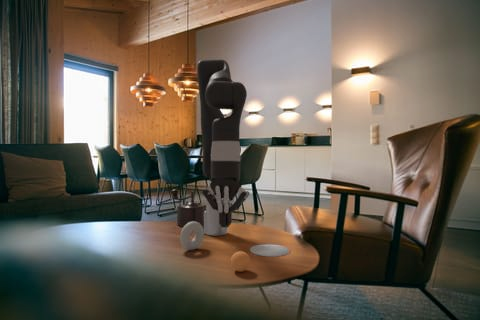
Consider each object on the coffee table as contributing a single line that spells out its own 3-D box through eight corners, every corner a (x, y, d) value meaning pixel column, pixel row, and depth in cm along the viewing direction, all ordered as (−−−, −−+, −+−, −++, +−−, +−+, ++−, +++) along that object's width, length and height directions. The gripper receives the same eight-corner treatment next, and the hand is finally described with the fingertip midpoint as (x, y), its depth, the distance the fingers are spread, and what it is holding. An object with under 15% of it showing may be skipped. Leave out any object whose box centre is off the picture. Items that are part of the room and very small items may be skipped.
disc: (243, 253, 105) (243, 252, 105) (258, 243, 117) (258, 242, 117) (283, 258, 99) (283, 258, 99) (294, 247, 112) (294, 247, 112)
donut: (184, 254, 103) (184, 224, 103) (177, 251, 106) (177, 222, 106) (206, 247, 111) (206, 220, 111) (199, 246, 113) (199, 218, 113)
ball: (227, 272, 86) (227, 253, 86) (235, 266, 91) (235, 248, 91) (245, 275, 84) (245, 255, 84) (252, 269, 89) (253, 250, 89)
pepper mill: (189, 222, 158) (190, 186, 158) (207, 224, 152) (207, 188, 152) (168, 227, 145) (168, 189, 145) (185, 230, 139) (186, 190, 139)
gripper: (195, 159, 78) (195, 227, 78) (243, 159, 73) (243, 232, 73) (210, 159, 85) (210, 222, 85) (255, 159, 80) (254, 226, 80)
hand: (225, 226), depth 79 cm, fingers closed
